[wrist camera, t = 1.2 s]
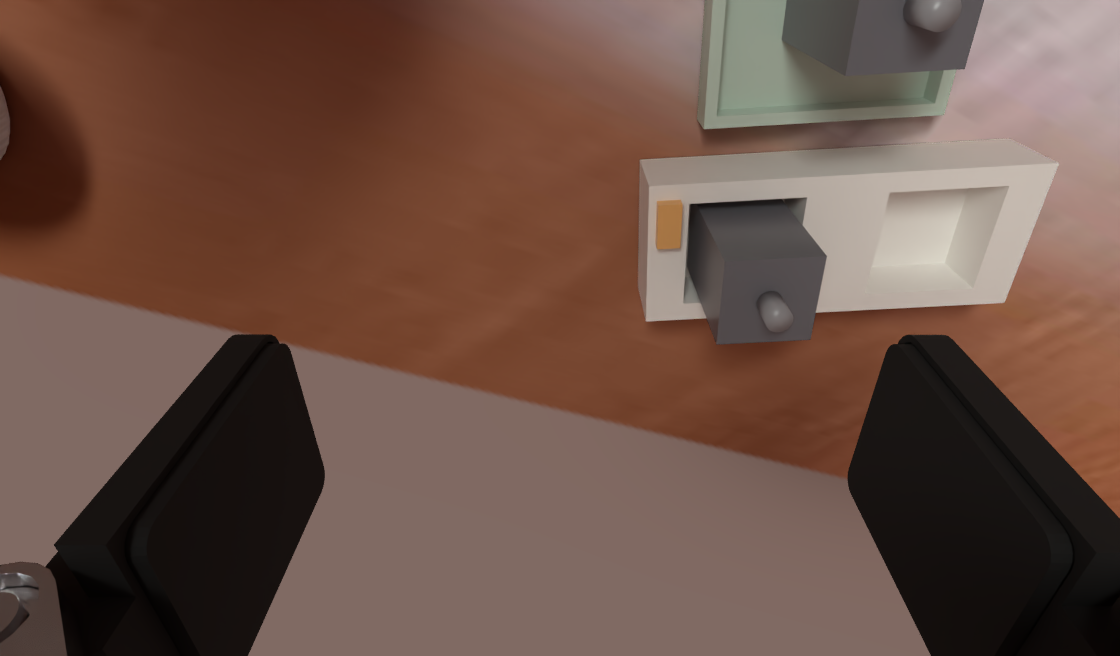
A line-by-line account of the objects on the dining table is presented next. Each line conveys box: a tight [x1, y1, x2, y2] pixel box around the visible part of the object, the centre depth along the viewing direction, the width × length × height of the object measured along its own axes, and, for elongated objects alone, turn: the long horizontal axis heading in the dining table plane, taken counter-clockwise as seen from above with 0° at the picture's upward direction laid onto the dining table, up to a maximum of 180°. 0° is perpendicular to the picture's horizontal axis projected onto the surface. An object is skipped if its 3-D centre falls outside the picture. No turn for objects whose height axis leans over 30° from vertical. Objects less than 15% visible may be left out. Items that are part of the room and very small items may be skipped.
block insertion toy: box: [638, 138, 1059, 345], centre depth 32 cm, size 8×20×11 cm, turn 93°
